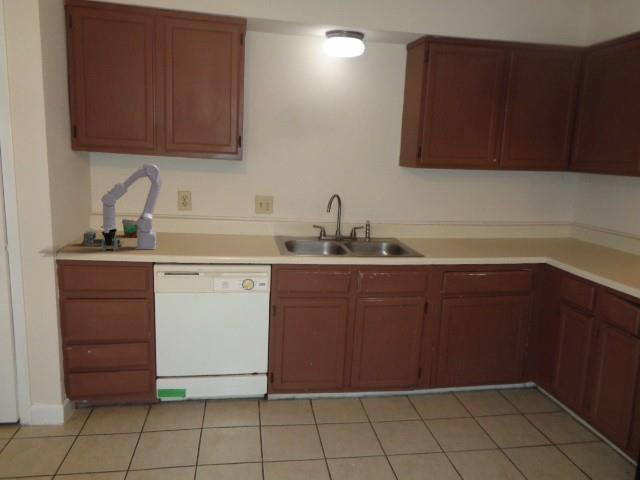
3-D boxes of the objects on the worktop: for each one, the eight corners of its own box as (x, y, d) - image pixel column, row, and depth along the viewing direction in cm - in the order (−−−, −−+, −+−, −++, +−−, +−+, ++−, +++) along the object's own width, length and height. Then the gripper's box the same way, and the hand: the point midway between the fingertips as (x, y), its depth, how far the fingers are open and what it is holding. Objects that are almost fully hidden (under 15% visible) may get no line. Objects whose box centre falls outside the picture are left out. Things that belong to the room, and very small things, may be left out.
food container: (117, 236, 282) (116, 219, 280) (125, 234, 287) (125, 217, 285) (132, 239, 276) (132, 221, 274) (140, 237, 281) (140, 220, 279)
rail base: (123, 243, 264) (123, 231, 263) (120, 246, 257) (120, 234, 255) (83, 243, 260) (83, 231, 259) (79, 246, 252) (79, 233, 251)
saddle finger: (104, 248, 250) (103, 238, 249) (117, 248, 252) (117, 238, 251) (102, 250, 246) (101, 240, 245) (115, 250, 247) (115, 240, 246)
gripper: (103, 215, 252) (104, 241, 254) (97, 219, 238) (98, 247, 240) (118, 215, 253) (118, 241, 256) (112, 220, 239) (113, 247, 242)
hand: (109, 244), depth 248 cm, fingers closed on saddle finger, 4 cm apart
